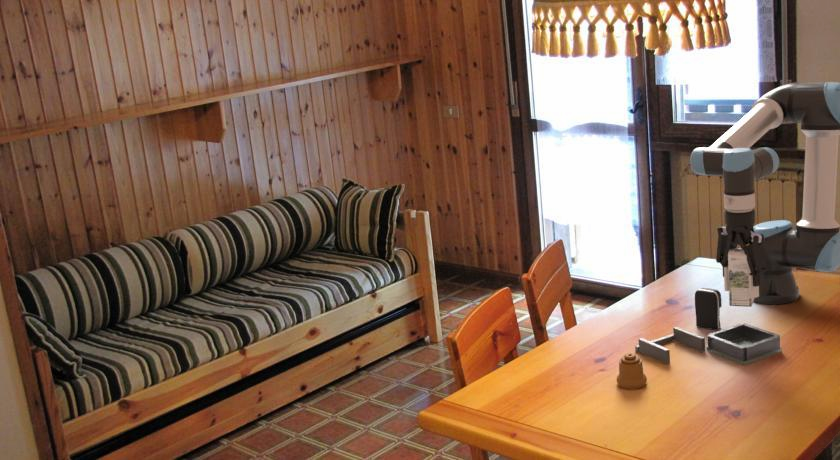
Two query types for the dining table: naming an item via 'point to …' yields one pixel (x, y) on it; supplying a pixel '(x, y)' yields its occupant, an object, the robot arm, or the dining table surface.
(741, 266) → the syrup box
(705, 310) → the black rounded block
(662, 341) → the grey u-shaped bracket
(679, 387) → the dining table surface
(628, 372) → the ornamental finial
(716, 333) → the square tray
